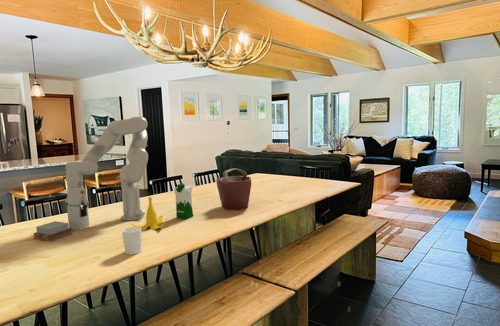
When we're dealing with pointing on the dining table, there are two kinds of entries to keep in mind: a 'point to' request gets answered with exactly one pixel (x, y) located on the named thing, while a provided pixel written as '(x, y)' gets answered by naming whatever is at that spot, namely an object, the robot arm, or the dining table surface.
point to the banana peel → (151, 218)
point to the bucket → (234, 190)
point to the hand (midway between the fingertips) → (77, 215)
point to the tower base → (52, 237)
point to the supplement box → (77, 218)
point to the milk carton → (183, 201)
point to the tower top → (52, 228)
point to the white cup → (132, 240)
